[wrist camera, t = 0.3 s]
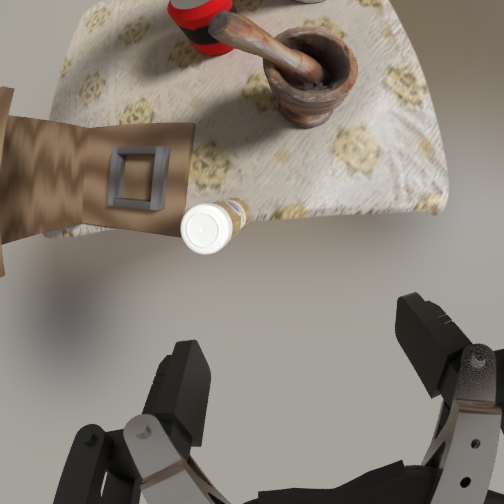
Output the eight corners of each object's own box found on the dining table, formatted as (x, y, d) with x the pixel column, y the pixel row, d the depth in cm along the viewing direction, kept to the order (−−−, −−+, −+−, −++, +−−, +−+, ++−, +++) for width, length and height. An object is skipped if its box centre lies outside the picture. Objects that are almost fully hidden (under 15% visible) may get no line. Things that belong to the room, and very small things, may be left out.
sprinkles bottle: (256, 207, 36) (237, 219, 23) (241, 237, 37) (214, 265, 24) (226, 191, 36) (191, 195, 23) (211, 221, 37) (171, 240, 24)
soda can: (254, 34, 29) (240, -13, 18) (215, 64, 31) (187, 24, 20) (221, 12, 29) (199, -32, 17) (185, 41, 31) (151, 3, 19)
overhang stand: (85, 129, 36) (-39, 115, 11) (195, 124, 34) (62, 55, 9) (78, 220, 40) (-44, 255, 15) (183, 236, 38) (46, 309, 13)
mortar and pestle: (260, 144, 34) (225, 96, 14) (243, 88, 32) (197, 6, 13) (344, 125, 31) (398, 64, 12) (324, 70, 30) (348, -21, 10)
